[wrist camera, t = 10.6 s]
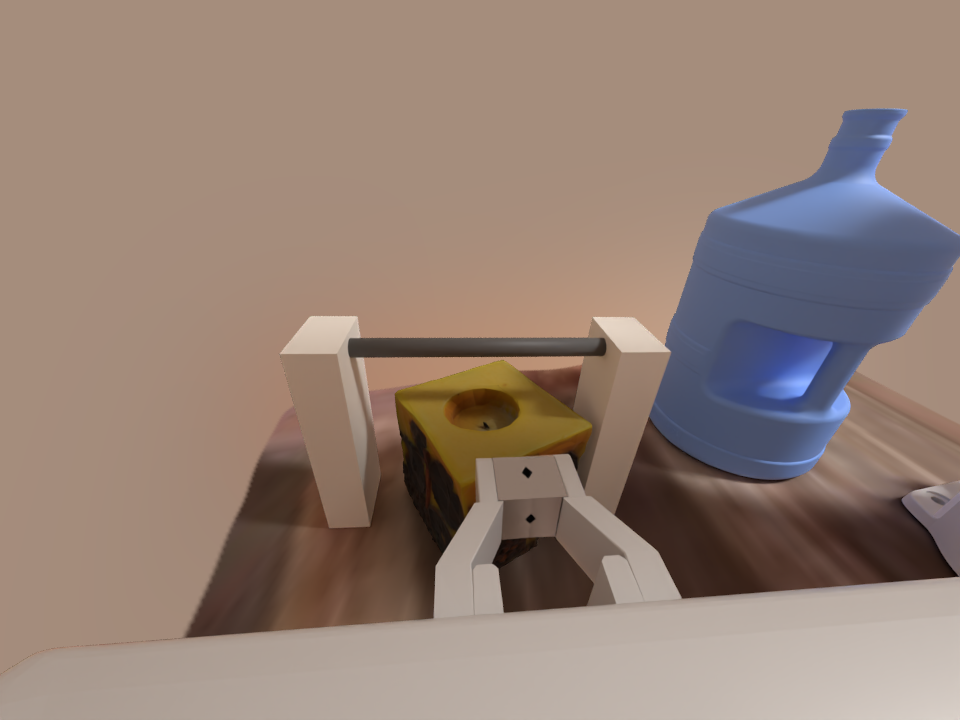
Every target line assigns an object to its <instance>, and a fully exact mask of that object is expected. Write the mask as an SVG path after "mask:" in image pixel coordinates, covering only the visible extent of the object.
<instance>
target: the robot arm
mask: <svg viewBox="0 0 960 720" xmlns="http://www.w3.org/2000/svg"><path fill="white" fill-rule="evenodd" d="M475 484H476V503H474V505H473V506H472V508H471V510H470V511H469V513H468V514H467V516H466V518H465V519H464V521H463V523H462V524H461V526H460V527H459V529H458V531H457V532H456V534H455V536H454V537H453V539H452V540H451V542H450V544H449V545H448V547H447V549H446V550H445V552H444V553H443V555H442V557H441V558H440V560H439V562H438V563H437V565H436V571H435V598H434V618H432V619H420V620H407V621H394V622H382V623H369V624H357V625H344V626H331V627H319V628H306V629H293V630H280V631H268V632H255V633H242V634H229V635H217V636H204V637H191V638H178V639H165V640H152V641H141V642H127V643H114V644H101V645H87V646H74V647H61V648H53V649H48V650H44V651H41V652H38V653H35V654H33V655H31V656H29V657H27V658H26V659H24V660H22V661H21V662H19V663H17V664H16V665H14V666H12V667H11V668H9V669H8V670H6V671H4V672H3V673H1V674H0V720H960V481H955V482H951V483H946V484H942V485H937V486H933V487H928V488H924V489H919V490H915V491H912V492H910V493H909V494H907V495H906V496H905V497H903V498H902V502H903V504H904V505H905V507H906V508H907V509H908V510H909V511H910V512H911V513H912V514H913V515H914V516H915V517H916V518H917V519H918V520H919V521H920V522H921V523H922V524H923V525H924V526H925V527H926V528H927V529H928V530H929V532H930V533H931V535H932V536H933V538H934V540H935V542H936V544H937V546H938V547H939V549H940V551H941V553H942V555H943V556H944V558H945V559H946V561H947V562H948V563H949V565H950V566H951V567H952V569H953V570H954V571H955V572H956V573H957V575H958V576H959V577H950V578H938V579H925V580H913V581H900V582H887V583H875V584H862V585H850V586H837V587H824V588H812V589H799V590H787V591H774V592H761V593H749V594H736V595H724V596H711V597H698V598H686V599H682V598H681V596H680V594H679V592H678V590H677V588H676V586H675V584H674V582H673V580H672V578H671V576H670V574H669V572H668V570H667V568H666V566H665V564H664V562H663V560H662V558H661V556H660V554H659V552H658V551H657V550H656V549H655V548H653V547H652V546H651V545H650V544H648V543H647V542H646V541H645V540H644V539H642V538H641V537H640V536H639V535H638V534H636V533H635V532H634V531H633V530H632V529H630V528H629V527H628V526H627V525H625V524H624V523H623V522H622V521H621V520H619V519H618V518H617V517H616V516H615V515H613V514H612V513H611V512H610V511H608V510H607V509H606V508H605V507H604V506H602V505H601V504H600V503H599V502H598V501H596V500H595V499H594V498H593V497H591V496H586V494H585V492H584V489H583V487H582V484H581V482H580V479H579V476H578V474H577V471H576V469H575V466H574V464H573V461H572V459H571V456H570V455H569V454H558V455H540V456H524V457H501V458H476V472H475ZM529 537H556V539H557V540H558V541H559V543H560V544H561V545H562V546H563V547H564V549H565V550H566V551H567V552H568V553H569V554H570V556H571V557H572V558H573V559H574V560H575V562H576V563H577V564H578V565H579V566H580V567H581V569H582V570H583V571H584V572H585V573H586V575H587V576H588V577H589V578H590V579H591V580H592V582H593V583H594V586H593V589H592V592H591V595H590V598H589V601H588V604H587V606H583V607H571V608H558V609H546V610H533V611H521V612H508V613H504V611H503V603H502V595H501V587H500V579H499V571H498V568H497V567H496V566H495V565H493V564H492V562H493V559H494V557H495V555H496V553H497V550H498V548H499V546H500V543H501V540H507V539H518V538H529Z"/></svg>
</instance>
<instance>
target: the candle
mask: <svg viewBox="0 0 960 720" xmlns="http://www.w3.org/2000/svg"><path fill="white" fill-rule="evenodd" d="M395 403H396V412H397V418H398V425H399V430H400V436H401V437H402V441H401V444H402V449H403V457H404V461H403V473H404V475H405V477H404V479H405V484H406V486H407V489H408V491H409V494H410V496H411V497H412V498H413V500H414V505H415V507H416V508H417V509H418V510H419V511H420V515H421V516H422V518H423V520H424V523H426V525H427V528H428V531H429V532H430V533H431V535H432V540H434V541H435V542H436V543H437V545H438V547H439V548H440V550H441V552H442V553H444V552H445V550H446V549H447V547H448V545H449V544H450V542H451V540H452V539H453V537H454V536H455V534H456V532H457V531H458V529H459V527H460V526H461V524H462V523H463V521H464V519H465V518H466V516H467V514H468V513H469V511H470V510H471V508H472V506H473V505H474V503H476V484H475V472H476V458H501V457H524V456H540V455H558V454H569V455H570V456H571V459H572V461H573V464H574V466H575V469H576V471H577V474H578V465H579V461H580V457H581V456H582V455H583V454H584V452H585V449H586V444H587V442H588V440H589V438H590V436H591V434H592V425H591V423H590V422H588V421H587V420H586V419H584V418H583V417H581V416H580V415H579V414H577V413H576V412H574V411H573V410H571V409H570V408H569V407H567V406H566V405H565V404H563V403H562V402H560V401H559V400H558V399H556V398H555V397H553V396H552V395H550V394H549V393H548V392H546V391H545V390H543V389H542V388H540V387H539V386H538V385H536V384H535V383H534V382H532V381H531V380H530V379H529V378H527V377H526V376H525V375H523V374H522V373H521V372H520V371H518V370H517V369H516V368H514V367H513V366H512V365H510V364H509V363H507V362H506V361H504V360H501V361H496V362H493V363H490V364H487V365H483V366H479V367H476V368H472V369H470V370H467V371H464V372H460V373H457V374H454V375H451V376H447V377H444V378H441V379H437V380H433V381H429V382H426V383H423V384H419V385H416V386H413V387H409V388H406V389H402V390H398V391H397V392H396V393H395ZM538 538H539V537H529V538H518V539H507V540H501V543H500V546H499V548H498V550H497V553H496V555H495V557H494V559H493V562H492V564H493V565H495V566H496V567H497V568H498V569H499V568H500V567H502V566H504V565H506V564H507V563H509V562H510V561H512V560H513V559H514V558H516V557H518V556H520V555H522V554H524V553H526V552H527V551H529V549H530V547H535V546H536V545H537V541H536V540H537V539H538Z"/></svg>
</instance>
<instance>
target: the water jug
mask: <svg viewBox="0 0 960 720" xmlns="http://www.w3.org/2000/svg"><path fill="white" fill-rule="evenodd" d="M907 112H908V110H906V109H859V110H849V111H845V112H844V114H843V116H842V118H843V123H842V125H841V127H840V129H839V131H838V133H837V135H836V136H835V137H834V138H833V139H832V140H831V142H830V144H829V147H828V148H829V150H828V152H827V154H826V157H825V159H824V161H823V163H822V165H821V167H820V168H819V169H818V171H817V172H816V173H815V174H814V175H812V176H811V177H809V178H808V179H805V180H803V181H800V182H797V183H794V184H791V185H788V186H784V187H781V188H778V189H775V190H772V191H769V192H766V193H763V194H761V195H757V196H754V197H751V198H748V199H745V200H742V201H739V202H736V203H733V204H730V205H727V206H724V207H721V208H718V209H716V210H714V211H713V212H711V214H710V215H709V216H708V219H707V222H706V225H705V228H704V230H703V231H702V233H701V235H700V237H699V240H698V243H697V246H696V249H695V252H694V256H693V263H692V266H691V269H690V272H689V275H688V278H687V281H686V284H685V287H684V290H683V293H682V296H681V299H680V302H679V305H678V308H677V311H676V313H675V314H674V316H673V318H672V320H671V323H670V326H669V329H668V332H667V337H666V343H665V347H666V348H667V349H669V350H670V351H671V355H670V358H669V361H668V363H667V366H666V369H665V372H664V375H663V378H662V380H661V383H660V386H659V389H658V392H657V395H656V398H655V400H654V403H653V406H652V409H651V412H650V415H649V417H650V419H651V421H652V422H653V424H654V425H655V427H656V428H657V429H658V430H659V431H660V432H661V433H662V434H663V435H664V436H665V437H666V438H667V439H668V440H669V441H670V442H671V443H673V444H674V445H675V446H677V447H678V448H680V449H681V450H682V451H684V452H686V453H687V454H689V455H691V456H692V457H694V458H696V459H698V460H700V461H702V462H704V463H706V464H708V465H711V466H713V467H715V468H718V469H721V470H723V471H726V472H730V473H733V474H737V475H740V476H745V477H750V478H756V479H766V480H781V479H789V478H793V477H797V476H800V475H802V474H804V473H806V472H808V471H809V470H810V469H811V468H813V466H814V465H815V464H816V463H817V461H818V460H819V458H820V457H821V456H822V454H823V453H824V451H825V447H826V445H827V443H828V442H829V440H830V439H831V438H832V436H833V435H834V433H835V432H836V430H837V429H838V428H839V426H840V425H841V423H842V422H843V421H844V419H845V418H846V416H847V415H848V413H849V411H850V401H849V398H848V396H847V394H846V393H845V392H844V390H843V389H844V387H845V386H846V384H847V383H848V381H849V380H850V378H851V377H852V375H853V374H854V372H855V371H856V369H857V368H858V366H859V365H860V363H861V361H862V360H863V359H864V357H865V355H866V354H867V353H868V351H869V350H870V349H871V348H872V347H874V346H876V345H878V344H881V343H885V342H889V341H893V340H895V339H898V338H900V337H902V336H903V335H904V334H905V333H906V332H907V330H908V329H909V327H910V326H911V324H912V323H913V322H914V320H915V319H916V317H917V316H918V315H919V313H920V312H921V310H922V309H923V307H924V306H925V305H927V304H929V303H930V302H931V300H932V299H933V298H934V297H935V296H936V294H937V293H938V291H939V290H940V289H941V287H942V286H943V284H944V283H945V282H946V280H947V279H948V277H949V275H950V273H951V272H952V270H953V267H952V266H953V265H954V264H955V262H956V261H957V259H958V258H959V257H960V235H959V234H957V233H956V232H954V231H952V230H951V229H949V228H948V227H946V226H944V225H943V224H941V223H940V222H938V221H936V220H935V219H933V218H932V217H930V216H928V215H927V214H925V213H923V212H922V211H920V210H919V209H917V208H916V207H914V206H912V205H911V204H909V203H908V202H906V201H904V200H903V199H901V198H900V197H898V196H896V195H895V194H893V193H892V192H890V191H889V190H887V189H885V188H884V187H882V186H881V185H879V184H878V183H877V181H876V179H875V170H876V167H877V165H878V163H879V161H880V159H881V158H882V155H883V154H884V152H885V151H886V150H887V149H888V148H889V146H890V144H891V142H892V137H891V136H892V133H893V132H894V130H895V127H896V126H897V124H898V122H899V121H900V120H901V119H902V118H903V117H904V116H905V115H906V113H907Z"/></svg>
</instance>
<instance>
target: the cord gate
mask: <svg viewBox="0 0 960 720" xmlns="http://www.w3.org/2000/svg"><path fill="white" fill-rule="evenodd" d="M279 355H280V358H281V361H282V365H283V369H284V372H285V376H286V379H287V382H288V386H289V390H290V393H291V397H292V400H293V404H294V407H295V411H296V414H297V418H298V421H299V425H300V428H301V432H302V435H303V439H304V442H305V446H306V449H307V452H308V456H309V459H310V463H311V466H312V470H313V473H314V477H315V480H316V484H317V487H318V491H319V494H320V498H321V501H322V505H323V508H324V512H325V515H326V519H327V522H328V526H329V528H350V527H370V525H371V520H372V516H373V511H374V506H375V501H376V497H377V492H378V487H379V482H380V477H381V471H380V464H379V458H378V451H377V444H376V438H375V431H374V424H373V418H372V411H371V404H370V398H369V391H368V384H367V378H366V372H365V364H364V358H363V357H516V356H517V357H528V356H529V357H530V356H531V357H537V356H584V360H583V364H582V369H581V374H580V378H579V383H578V388H577V393H576V397H575V402H574V407H573V411H574V412H576V413H577V414H579V415H580V416H581V417H583V418H584V419H586V420H587V421H588V422H590V423H591V425H592V434H591V436H590V438H589V440H588V442H587V444H586V449H585V452H584V454H583V455H582V456H581V457H580V461H579V465H578V476H579V479H580V482H581V484H582V487H583V489H584V492H585V494H586V496H591V497H593V498H594V499H595V500H596V501H598V502H599V503H600V504H601V505H602V506H604V507H605V508H606V509H607V510H608V511H610V512H611V513H612V514H613V515H614V514H615V512H616V509H617V506H618V503H619V500H620V497H621V494H622V492H623V489H624V486H625V483H626V480H627V477H628V474H629V472H630V469H631V466H632V463H633V460H634V457H635V455H636V452H637V449H638V446H639V443H640V440H641V437H642V435H643V432H644V429H645V426H646V423H647V420H648V417H649V415H650V412H651V409H652V406H653V403H654V400H655V398H656V395H657V392H658V389H659V386H660V383H661V380H662V378H663V375H664V372H665V369H666V366H667V363H668V361H669V358H670V355H671V351H670V350H669V349H667V348H666V347H665V346H664V345H663V344H662V343H661V342H660V341H659V340H658V339H657V338H656V337H654V335H652V334H651V333H650V332H649V331H648V330H647V329H646V328H645V327H643V325H642V324H641V323H639V322H638V321H637V320H636V319H635V318H634V317H592V322H591V327H590V331H589V336H588V338H360V331H359V324H358V318H357V316H311V317H309V319H308V320H307V321H306V322H305V323H304V325H303V326H302V327H301V328H300V330H299V331H298V332H297V333H296V334H295V336H294V337H293V338H292V339H291V341H290V342H289V343H288V344H287V346H286V347H285V348H284V349H283V350H282V351H281V353H280V354H279Z"/></svg>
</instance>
